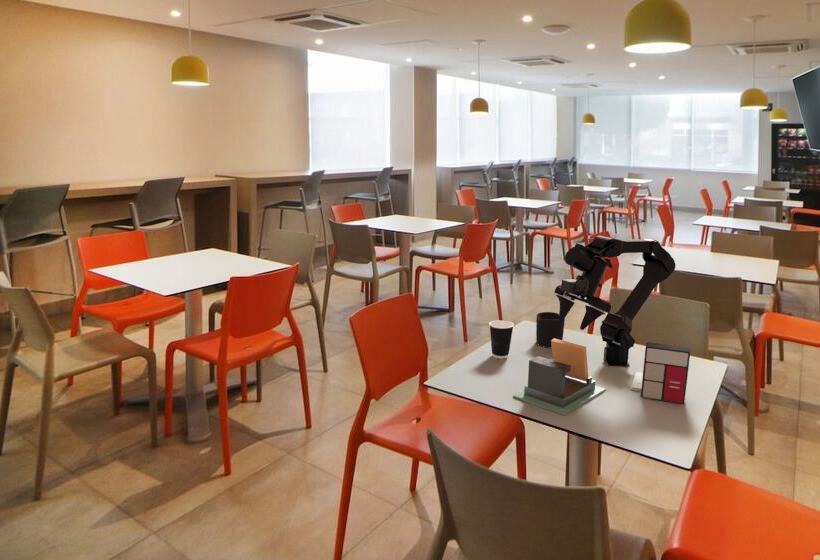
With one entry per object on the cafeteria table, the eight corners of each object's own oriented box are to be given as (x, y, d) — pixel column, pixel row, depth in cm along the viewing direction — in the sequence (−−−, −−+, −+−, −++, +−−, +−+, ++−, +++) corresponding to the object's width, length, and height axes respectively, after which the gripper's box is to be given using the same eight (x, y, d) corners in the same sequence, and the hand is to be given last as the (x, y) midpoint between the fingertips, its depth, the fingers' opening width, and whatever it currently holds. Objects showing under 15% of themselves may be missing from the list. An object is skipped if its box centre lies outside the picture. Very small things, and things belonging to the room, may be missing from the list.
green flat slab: (555, 375, 184) (555, 373, 184) (605, 390, 173) (605, 388, 173) (512, 397, 169) (513, 395, 169) (564, 415, 158) (564, 413, 158)
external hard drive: (664, 381, 182) (661, 397, 171) (635, 376, 185) (630, 391, 174) (665, 375, 181) (662, 391, 170) (635, 371, 185) (630, 386, 174)
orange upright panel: (557, 370, 178) (553, 338, 174) (588, 380, 171) (586, 346, 167) (554, 373, 177) (551, 340, 173) (585, 383, 170) (583, 349, 166)
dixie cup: (516, 354, 201) (517, 322, 199) (507, 362, 194) (509, 329, 192) (493, 350, 205) (494, 318, 202) (484, 357, 198) (485, 325, 196)
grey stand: (557, 377, 181) (559, 344, 178) (594, 389, 173) (597, 354, 170) (524, 394, 169) (525, 359, 167) (562, 408, 161) (565, 371, 158)
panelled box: (640, 398, 168) (645, 347, 164) (641, 392, 172) (646, 341, 168) (684, 405, 164) (690, 352, 160) (684, 399, 168) (690, 347, 164)
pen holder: (565, 341, 214) (567, 314, 211) (559, 350, 206) (561, 321, 203) (538, 337, 218) (540, 310, 215) (532, 346, 209) (533, 317, 207)
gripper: (552, 261, 186) (531, 308, 186) (596, 273, 170) (573, 325, 170) (577, 273, 192) (557, 319, 192) (621, 287, 175) (599, 337, 176)
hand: (570, 325), depth 182 cm, fingers open, 9 cm apart
